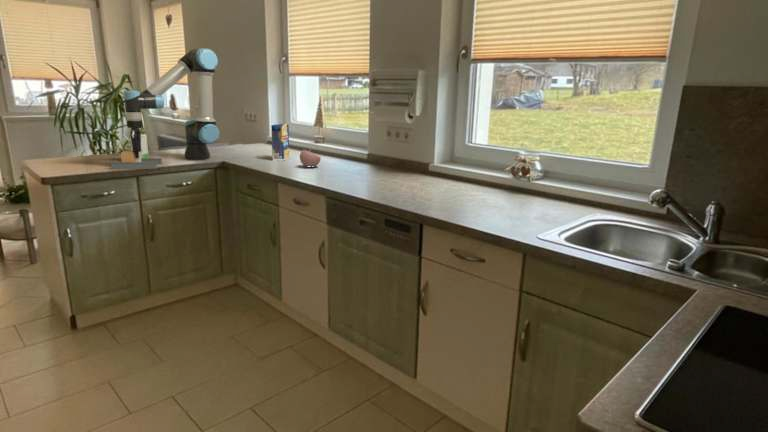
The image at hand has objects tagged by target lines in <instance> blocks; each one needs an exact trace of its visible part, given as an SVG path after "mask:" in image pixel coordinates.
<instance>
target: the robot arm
mask: <svg viewBox="0 0 768 432" xmlns="http://www.w3.org/2000/svg"><path fill="white" fill-rule="evenodd" d="M218 64H219V59H218V56H217V55H216V53H215V51H213V50H212V49H209V48H205V47H204V48H193V49H191V50H189V51H188V52H186V53H185V54H184V55H183V56H181V58H179V59H178V60H177V64H176V63H175V65H174V66H173V67H172V68H170V69H169V70H168V71H167V72H165V73H164V74H163V75H162V76H161V77H159V78H158V79H157V80H155V81H154V82H153V83H152V84H150V85H149V86H148V87H147V88H145V90H143V91H142V92H140V91H139V90H125V91H124V92H123V100H124V108H125V109H124V110H125V113H124V116H125V118H126V119H125V120H126V128H130V134H129V135H130V137H131V141H132V147H133V152H134V154H135V162H141V153H140V151H142V150H141V134H142V133H141V130H140V129H142V128H143V121H142V120H143V115H142V109H143V110H144V109H145V110H158V109H159V110H161V109H163V108H164V107H165V100H164V97H163V94H165V93H166V92H168V91H169V90H170V89H171V88H172V87H173V86H174V85H176V84H177V83H178V82H179V81H181V80H182V79H183V78H184V77H185V76H187V75H190V74H193V73H194V74H195V76H196V99H197V100H196V101H197V102H196V103H197V104H196V105H197V106H196V107H197V117H196V119H194V120H186V121H185V123H184V125H185V126H184V129H185V139H186V141H185V142H186V147H185V150H184V156H183V157H184V159H186V160H187V159H188V160H206V159H210V158H211V153H210V151H209V147H208V145H210V144H214V143H215V142H216V141H217V140H219V137H220V130H219V128H218V127H217V120H216V119H215V118H214V107H213V106H214V104H213V103H214V102H213V101H214V97H213V76H215V73H216V72H215V71H216V68H217V67H218ZM207 144H208V145H207Z"/></svg>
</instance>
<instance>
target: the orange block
mask: <svg viewBox="0 0 768 432" xmlns="http://www.w3.org/2000/svg"><path fill="white" fill-rule="evenodd" d="M120 158H121V159H122V162H135V154H134V152H133V151H131V150H123V151H121V152H120Z"/></svg>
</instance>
